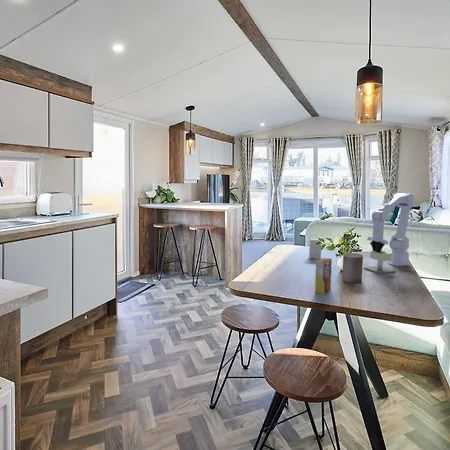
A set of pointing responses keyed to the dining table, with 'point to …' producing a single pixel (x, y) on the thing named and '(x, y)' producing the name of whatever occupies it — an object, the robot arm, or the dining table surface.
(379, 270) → the post stand
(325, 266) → the candy box
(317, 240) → the supplement box
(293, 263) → the dining table surface
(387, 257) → the collar
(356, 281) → the pillar candle
